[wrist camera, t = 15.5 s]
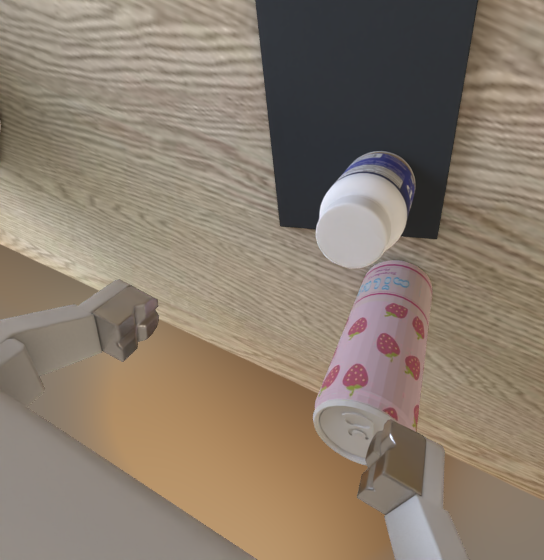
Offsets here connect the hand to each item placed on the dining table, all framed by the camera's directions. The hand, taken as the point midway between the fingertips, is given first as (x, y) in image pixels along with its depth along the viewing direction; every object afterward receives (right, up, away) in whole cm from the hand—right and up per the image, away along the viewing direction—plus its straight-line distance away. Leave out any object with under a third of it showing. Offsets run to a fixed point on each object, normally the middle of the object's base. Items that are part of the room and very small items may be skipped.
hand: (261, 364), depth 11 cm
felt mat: (+6, +15, +12) cm, 20 cm away
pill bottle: (+8, +10, +14) cm, 19 cm away
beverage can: (+11, +2, +19) cm, 22 cm away
